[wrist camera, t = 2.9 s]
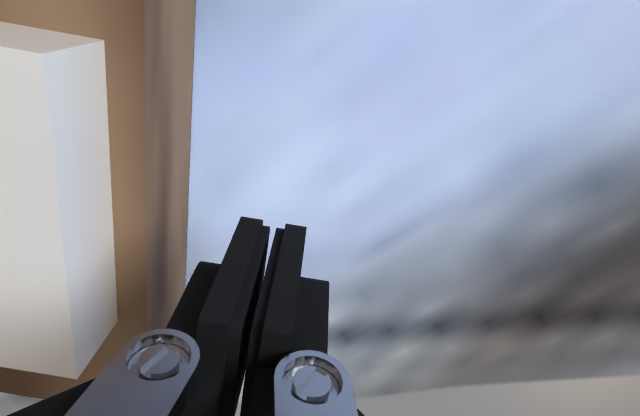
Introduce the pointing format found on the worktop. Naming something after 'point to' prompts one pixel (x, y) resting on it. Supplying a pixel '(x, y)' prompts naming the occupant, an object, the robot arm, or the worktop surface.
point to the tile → (54, 202)
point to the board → (132, 158)
